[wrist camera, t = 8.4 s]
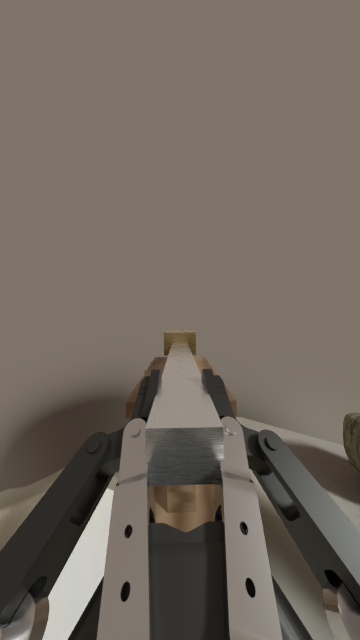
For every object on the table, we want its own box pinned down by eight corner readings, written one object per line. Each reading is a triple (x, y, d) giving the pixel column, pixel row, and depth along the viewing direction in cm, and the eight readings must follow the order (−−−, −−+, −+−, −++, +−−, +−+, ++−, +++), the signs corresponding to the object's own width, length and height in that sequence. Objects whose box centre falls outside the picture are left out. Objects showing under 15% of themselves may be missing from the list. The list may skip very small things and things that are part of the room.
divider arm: (192, 348, 39) (192, 330, 39) (263, 482, 6) (261, 370, 6) (167, 348, 39) (166, 330, 39) (105, 486, 6) (105, 372, 6)
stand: (212, 470, 39) (211, 356, 40) (256, 659, 17) (251, 400, 18) (149, 471, 39) (148, 357, 39) (110, 664, 17) (109, 402, 17)
